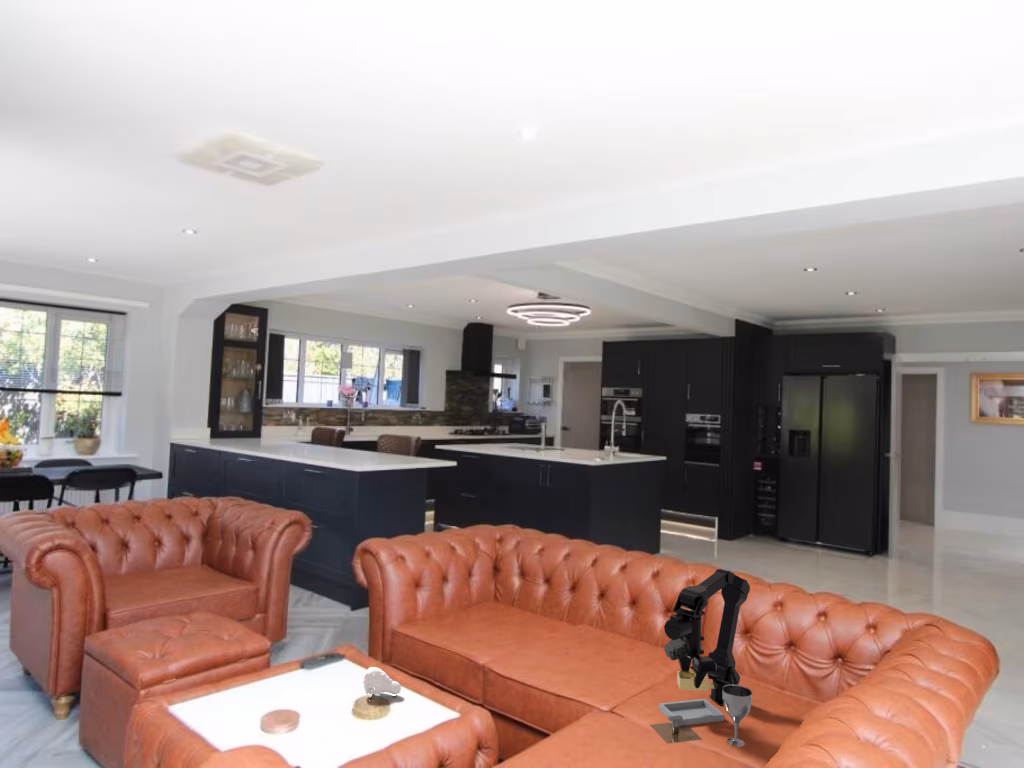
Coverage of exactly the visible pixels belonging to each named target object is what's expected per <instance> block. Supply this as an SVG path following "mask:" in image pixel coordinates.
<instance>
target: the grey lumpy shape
mask: <svg viewBox="0 0 1024 768" xmlns="http://www.w3.org/2000/svg"><path fill="white" fill-rule="evenodd" d="M363 675H364V676H363V682H362V683H363V688H364V690H365V691H364V692H365V694H366V695H367V694H368V693H369V694H374V695H377V694H378V695H379V694H380V693H389V694H391V693H392V694H397V693H398V694H399V693H400V692H401V689H402V687H401V684H400V682H398V681H395V680H393V679H392V678H390V676H389V675H387V672H385V671H383V670H382V668H379V667H377V666H370V667H369V668H368V669H367V670H365V672H364V674H363ZM374 689H375V690H374ZM371 690H372V691H371ZM398 694H397V695H398Z"/></svg>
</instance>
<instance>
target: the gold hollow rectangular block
mask: <svg viewBox="0 0 1024 768" xmlns="http://www.w3.org/2000/svg"><path fill="white" fill-rule="evenodd" d="M709 680H710V679H709V678H708V674H706V676H705V678H704V680H703V681H702V683H701V685H700V687H699V688H695V682H694V671H693V670H689V671H681V670H676V682H677V686H678V688H679V690H680V691H695V692H697V691H698V692H699V691H700V692H709V689H710V690H711V689H714V684H713V682H709Z"/></svg>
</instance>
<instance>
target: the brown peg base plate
mask: <svg viewBox="0 0 1024 768" xmlns="http://www.w3.org/2000/svg"><path fill="white" fill-rule="evenodd" d="M667 719H668V720H669V722H663V723H655V724H654V723H653V724H649V726H650V728H652V729H653V730H654V732H655V733H657V734H658V735H659V736H660V738H662V740H663V741H665V743H666V744H668V745H669V744H677V743H685V742H691V741H701V740H703V738H702V737H701V736H700V735H698V734H697V732H695V731H694V730H693V729H692V728H691V727H690V725H683V726H679V720H683V717H682V716H680V715H679V716H670V717H668V718H667ZM671 721H673V723H672V722H671Z"/></svg>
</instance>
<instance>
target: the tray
mask: <svg viewBox="0 0 1024 768" xmlns="http://www.w3.org/2000/svg"><path fill="white" fill-rule="evenodd" d="M658 710H659V712H660V713H662V714H663V715H664V716H665V717H666V718H667V719H668V717H670V716H679V715H680V716H682V717H683V720H679V726H683V725H688V726H691V725H701V724H707V723H708V724H709V723H717V722H724V721H725V714H724V713H723V712H722V711H720V710H719V709H718V708H717V707H716V706H714V705H713V704H712V703H711V702H709V701H708V700H707V699H706V698H699V699H690V700H681V701H680V700H679V701H670V702H661V703H658ZM670 722H672V723H673V721H670Z"/></svg>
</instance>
